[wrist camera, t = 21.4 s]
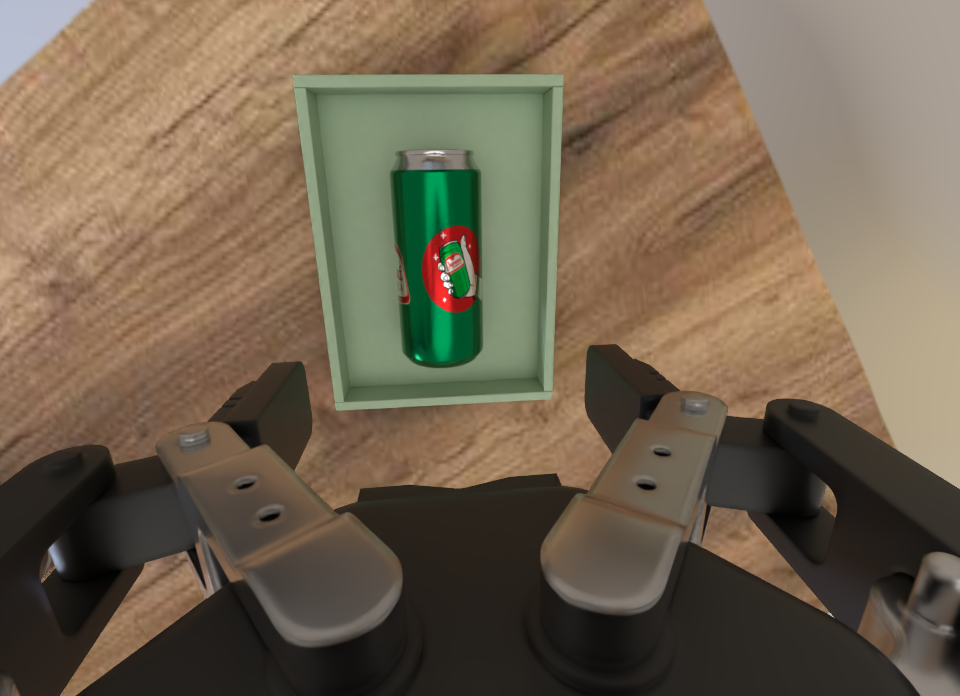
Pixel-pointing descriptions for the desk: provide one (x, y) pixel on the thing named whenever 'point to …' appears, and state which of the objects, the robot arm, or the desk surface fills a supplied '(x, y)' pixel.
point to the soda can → (438, 255)
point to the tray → (370, 237)
